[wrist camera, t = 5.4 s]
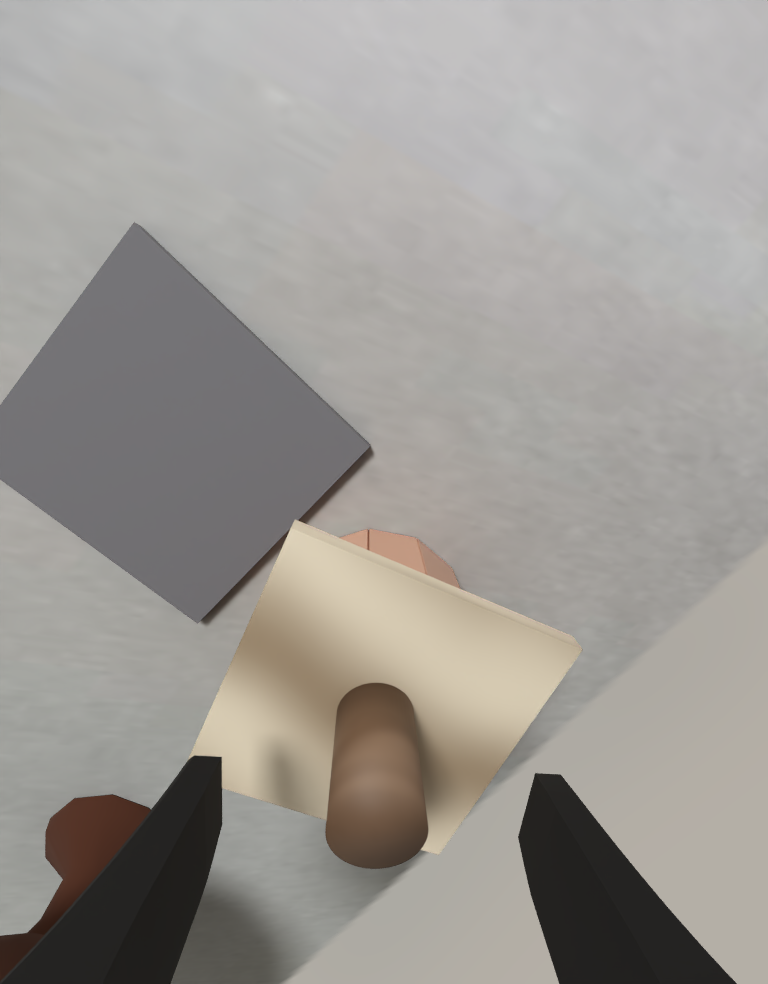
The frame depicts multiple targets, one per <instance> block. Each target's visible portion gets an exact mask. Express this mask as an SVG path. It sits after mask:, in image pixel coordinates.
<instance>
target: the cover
mask: <svg viewBox="0 0 768 984" xmlns="http://www.w3.org/2000/svg"><path fill="white" fill-rule="evenodd" d="M582 650H583V649H582V648H581V647H580V645H579V644H578V643H577V641H576V640H575V639H574V637H573V636H571V635H568V634H566V633H564V632H561V631H559V630H556V629H554V628H552V627H549V626H547V625H545V624H542V623H540V622H537V621H535V620H533V619H530V618H528V617H526V616H523V615H521V614H518V613H516V612H514V611H511V610H509V609H507V608H504V607H502V606H499V605H497V604H495V603H492V602H490V601H488V600H485V599H483V598H480V597H478V596H476V595H473V594H471V593H469V592H466V591H464V590H461V589H459V588H457V587H454V586H452V585H450V584H447V583H445V582H442V581H440V580H438V579H435V578H433V577H431V576H428V575H426V574H423V573H421V572H419V571H416V570H414V569H412V568H409V567H407V566H404V565H402V564H400V563H397V562H395V561H393V560H390V559H388V558H385V557H383V556H381V555H378V554H376V553H374V552H371V551H369V550H366V549H364V548H362V547H359V546H357V545H355V544H352V543H350V542H348V541H345V540H343V539H340V538H338V537H336V536H333V535H331V534H329V533H326V532H324V531H321V530H319V529H317V528H314V527H312V526H310V525H307V524H305V523H302V522H300V521H298V520H294V522H293V525H292V527H291V529H290V531H289V533H288V536H287V538H286V540H285V542H284V545H283V547H282V549H281V551H280V554H279V556H278V558H277V560H276V563H275V565H274V567H273V569H272V572H271V574H270V576H269V578H268V581H267V583H266V585H265V587H264V590H263V592H262V594H261V596H260V599H259V601H258V603H257V605H256V608H255V610H254V612H253V614H252V617H251V619H250V621H249V623H248V626H247V628H246V630H245V632H244V635H243V637H242V639H241V642H240V644H239V646H238V648H237V651H236V653H235V655H234V657H233V660H232V662H231V664H230V666H229V669H228V671H227V673H226V675H225V678H224V680H223V682H222V684H221V687H220V689H219V691H218V693H217V696H216V698H215V700H214V702H213V705H212V707H211V709H210V711H209V714H208V716H207V718H206V720H205V723H204V725H203V727H202V729H201V732H200V734H199V736H198V738H197V741H196V743H195V745H194V747H193V750H192V752H191V754H190V756H189V759H190V758H191V757H193V756H194V755H197V756H216V757H222V788H224V789H227V790H230V791H233V792H237V793H240V794H243V795H246V796H249V797H253V798H256V799H259V800H262V801H266V802H269V803H272V804H275V805H278V806H282V807H285V808H288V809H291V810H295V811H298V812H301V813H304V814H307V815H311V816H314V817H317V818H320V819H324V820H327V821H326V832H325V833H326V840H327V843H328V845H329V847H330V849H331V850H332V851H333V852H334V854H335V855H336V856H338V857H339V858H340V859H342V860H343V861H345V862H347V863H349V864H352V865H354V866H358V867H362V868H370V869H379V868H388V867H392V866H396V865H399V864H401V863H403V862H406V861H407V860H409V859H411V858H412V857H413V856H415V855H416V854H417V853H418V852H419V851H420V850H423V851H427V852H430V853H433V854H436V855H439V854H440V853H441V851H442V850H443V848H444V847H445V846H446V844H447V843H448V841H449V840H450V839H451V837H452V836H453V834H454V833H455V831H456V830H457V829H458V827H459V826H460V824H461V823H462V821H463V820H464V819H465V817H466V816H467V814H468V813H469V811H470V810H471V809H472V807H473V806H474V804H475V803H476V801H477V800H478V799H479V797H480V796H481V794H482V793H483V791H484V790H485V789H486V787H487V786H488V784H489V783H490V781H491V780H492V779H493V777H494V776H495V774H496V773H497V771H498V770H499V769H500V767H501V766H502V764H503V763H504V761H505V760H506V759H507V757H508V756H509V754H510V753H511V751H512V750H513V749H514V747H515V746H516V744H517V743H518V741H519V740H520V739H521V737H522V736H523V734H524V733H525V731H526V730H527V729H528V727H529V726H530V724H531V723H532V721H533V720H534V719H535V717H536V716H537V714H538V713H539V711H540V710H541V709H542V707H543V706H544V704H545V703H546V701H547V700H548V699H549V697H550V696H551V694H552V693H553V691H554V690H555V689H556V687H557V686H558V684H559V683H560V681H561V680H562V679H563V677H564V676H565V674H566V673H567V671H568V670H569V669H570V667H571V666H572V664H573V663H574V661H575V660H576V659H577V657H578V656H579V654H580V653H581V651H582ZM189 759H188V760H189Z"/></svg>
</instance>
